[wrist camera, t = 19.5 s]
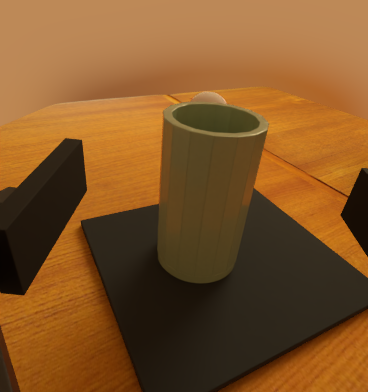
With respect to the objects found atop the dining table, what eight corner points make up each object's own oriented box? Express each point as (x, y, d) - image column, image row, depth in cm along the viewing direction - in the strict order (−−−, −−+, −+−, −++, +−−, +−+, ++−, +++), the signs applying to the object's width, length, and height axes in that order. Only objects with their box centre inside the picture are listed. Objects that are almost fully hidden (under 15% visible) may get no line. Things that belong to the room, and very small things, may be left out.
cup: (178, 295, 22) (195, 142, 16) (144, 238, 27) (147, 104, 21) (252, 268, 25) (291, 130, 19) (209, 221, 30) (229, 99, 24)
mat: (154, 425, 16) (155, 420, 16) (81, 225, 29) (80, 220, 29) (385, 299, 25) (389, 294, 24) (248, 188, 38) (249, 184, 37)
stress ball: (183, 137, 58) (169, 111, 53) (209, 108, 60) (198, 81, 55) (213, 149, 54) (201, 123, 49) (240, 118, 56) (231, 89, 50)
